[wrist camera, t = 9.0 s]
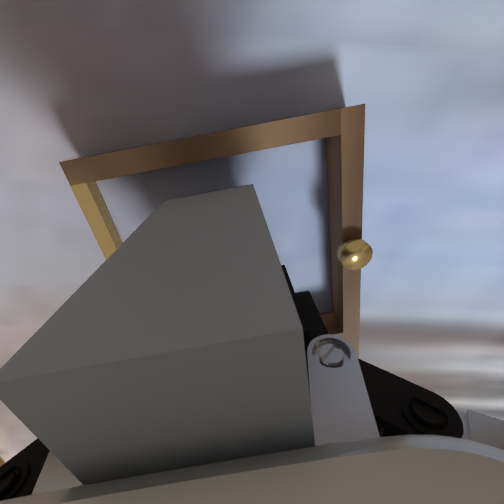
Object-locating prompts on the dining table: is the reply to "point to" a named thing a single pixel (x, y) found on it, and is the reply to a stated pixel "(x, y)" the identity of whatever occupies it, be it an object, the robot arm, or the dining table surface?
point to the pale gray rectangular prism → (171, 350)
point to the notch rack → (248, 140)
